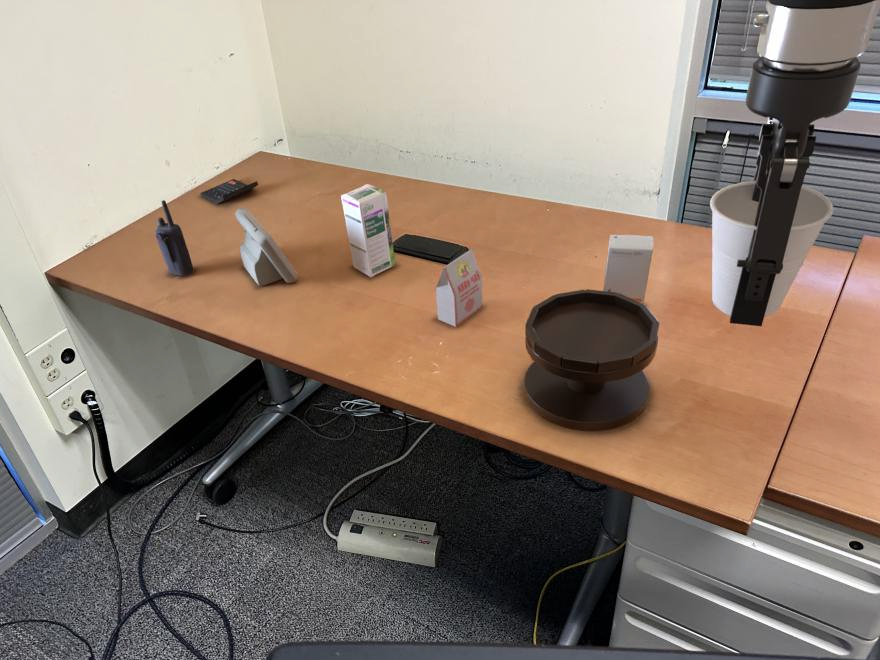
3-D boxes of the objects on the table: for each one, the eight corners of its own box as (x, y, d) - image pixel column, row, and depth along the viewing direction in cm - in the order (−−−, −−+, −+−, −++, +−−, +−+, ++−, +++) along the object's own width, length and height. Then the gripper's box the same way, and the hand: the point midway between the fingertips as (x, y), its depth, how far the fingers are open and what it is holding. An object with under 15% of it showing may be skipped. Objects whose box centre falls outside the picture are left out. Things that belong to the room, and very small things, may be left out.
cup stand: (654, 363, 95) (666, 296, 88) (639, 442, 84) (651, 372, 77) (538, 347, 101) (541, 283, 94) (511, 418, 90) (511, 351, 83)
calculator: (234, 182, 166) (231, 170, 164) (260, 193, 158) (257, 181, 156) (201, 196, 161) (197, 184, 160) (226, 208, 154) (223, 196, 152)
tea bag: (437, 319, 110) (433, 264, 104) (464, 300, 113) (462, 246, 107) (455, 326, 108) (452, 271, 101) (482, 307, 111) (481, 252, 105)
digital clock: (300, 285, 124) (289, 231, 117) (251, 297, 123) (237, 244, 116) (286, 246, 136) (274, 196, 130) (241, 257, 135) (228, 206, 128)
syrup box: (371, 278, 122) (360, 202, 113) (352, 267, 126) (340, 193, 117) (396, 266, 125) (387, 190, 116) (376, 255, 129) (366, 182, 120)
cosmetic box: (600, 317, 105) (607, 247, 97) (602, 302, 108) (609, 233, 100) (642, 320, 103) (653, 249, 95) (643, 304, 106) (653, 234, 98)
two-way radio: (198, 269, 133) (174, 197, 124) (185, 281, 130) (159, 208, 121) (176, 266, 136) (151, 195, 126) (162, 278, 133) (135, 206, 123)
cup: (697, 331, 67) (718, 230, 60) (685, 278, 74) (703, 181, 67) (812, 334, 64) (848, 228, 57) (788, 278, 72) (817, 178, 65)
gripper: (755, 23, 63) (710, 243, 77) (752, 102, 49) (698, 354, 63) (851, 19, 60) (786, 248, 75) (878, 102, 46) (792, 366, 60)
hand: (746, 297), depth 69 cm, fingers closed on cup, 8 cm apart
